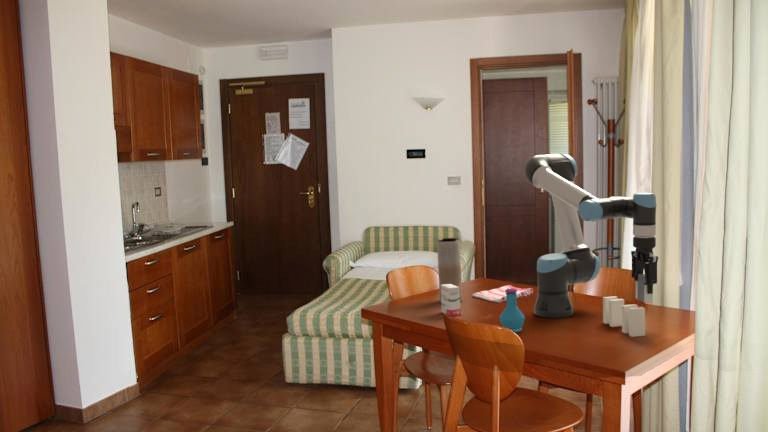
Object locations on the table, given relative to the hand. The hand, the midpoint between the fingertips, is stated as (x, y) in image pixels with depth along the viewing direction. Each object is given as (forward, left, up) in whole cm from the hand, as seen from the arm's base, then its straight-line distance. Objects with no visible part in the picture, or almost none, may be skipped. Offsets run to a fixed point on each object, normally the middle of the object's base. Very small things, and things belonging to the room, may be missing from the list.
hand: (643, 300), depth 233 cm
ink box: (-67, +32, -10) cm, 75 cm away
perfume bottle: (-47, +4, -10) cm, 48 cm away
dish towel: (-41, +60, -10) cm, 73 cm away
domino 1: (-9, +2, -10) cm, 13 cm away
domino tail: (-7, -11, -10) cm, 16 cm away
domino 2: (-8, -7, -10) cm, 14 cm away
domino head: (-10, +7, -10) cm, 15 cm away
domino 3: (0, 0, 0) cm, 0 cm away
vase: (-65, +54, -10) cm, 85 cm away
